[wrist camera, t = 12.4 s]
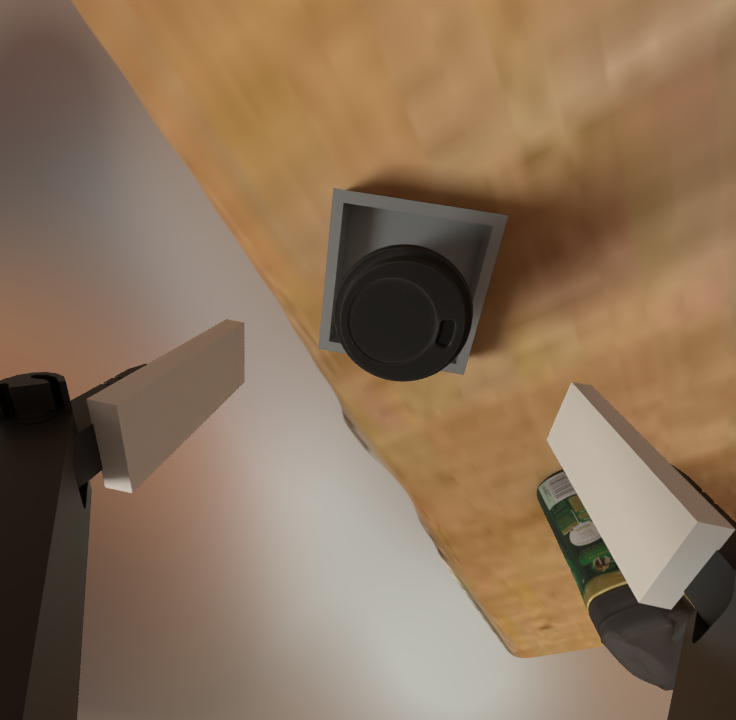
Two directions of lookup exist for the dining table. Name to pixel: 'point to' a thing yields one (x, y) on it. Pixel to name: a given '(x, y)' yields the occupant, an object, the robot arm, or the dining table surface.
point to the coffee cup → (403, 312)
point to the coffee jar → (613, 591)
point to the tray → (415, 227)
